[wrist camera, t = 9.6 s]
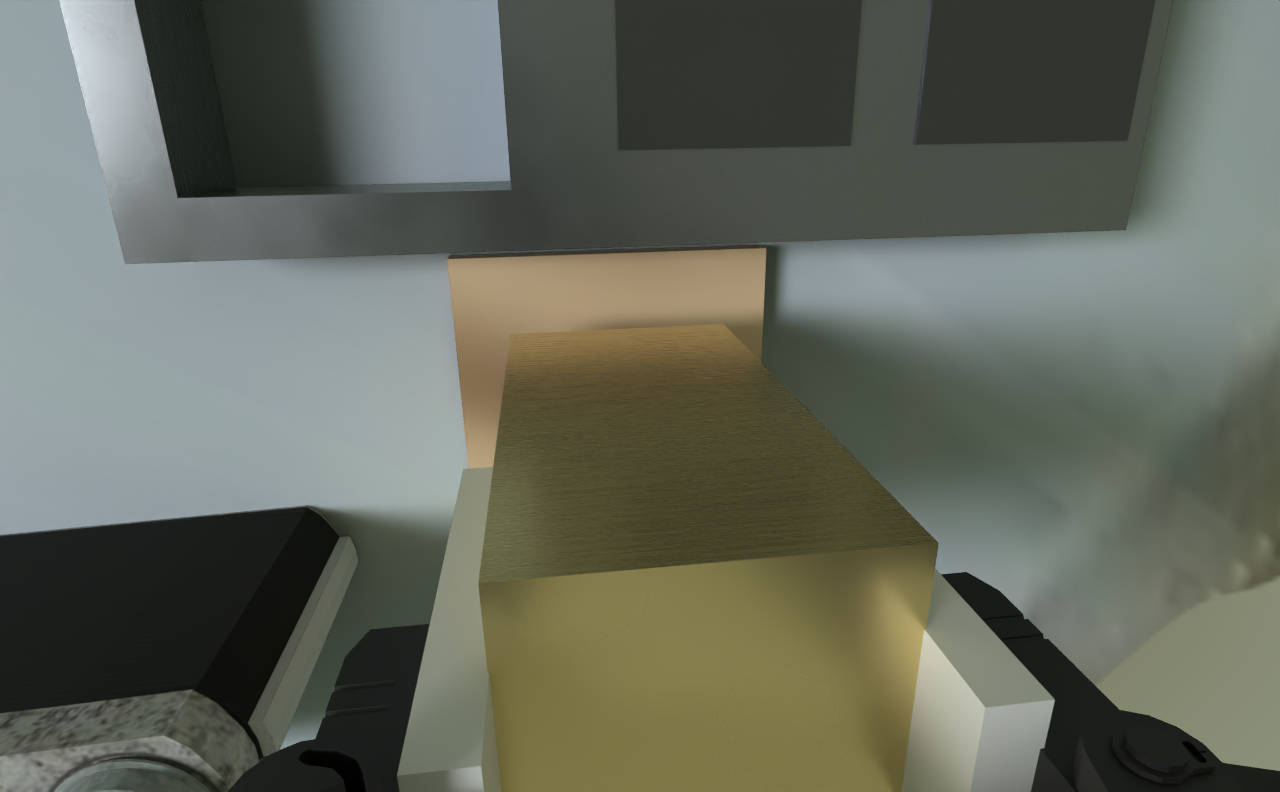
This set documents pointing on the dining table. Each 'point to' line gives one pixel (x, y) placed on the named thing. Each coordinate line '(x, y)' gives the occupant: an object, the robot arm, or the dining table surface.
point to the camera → (161, 647)
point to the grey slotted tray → (671, 129)
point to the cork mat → (589, 308)
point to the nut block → (690, 577)
